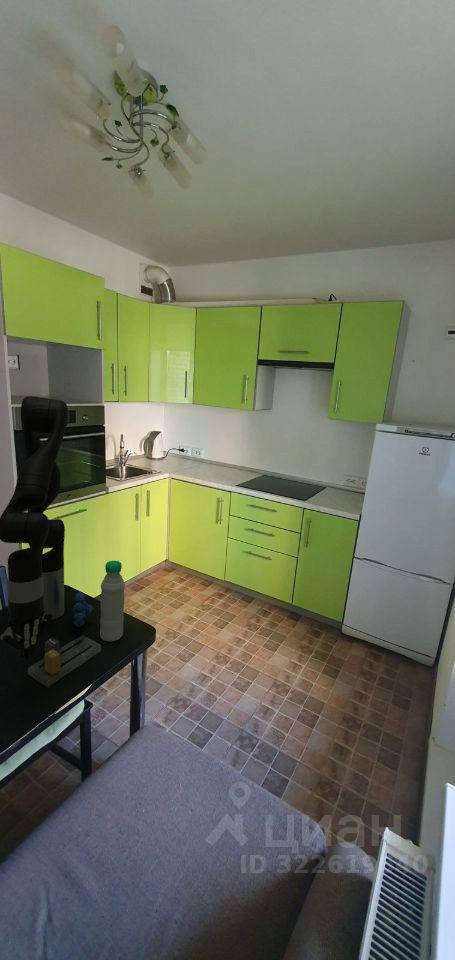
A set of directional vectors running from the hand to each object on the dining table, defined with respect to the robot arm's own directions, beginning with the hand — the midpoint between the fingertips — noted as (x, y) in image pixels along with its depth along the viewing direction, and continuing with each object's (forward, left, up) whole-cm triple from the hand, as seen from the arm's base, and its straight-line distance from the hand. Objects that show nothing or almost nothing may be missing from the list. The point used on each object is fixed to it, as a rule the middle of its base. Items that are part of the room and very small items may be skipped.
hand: (27, 657), depth 95 cm
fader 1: (-4, +10, -8) cm, 14 cm away
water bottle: (-1, +29, -11) cm, 31 cm away
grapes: (-12, +27, -11) cm, 32 cm away
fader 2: (0, +7, -8) cm, 11 cm away
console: (-2, +13, -11) cm, 17 cm away
